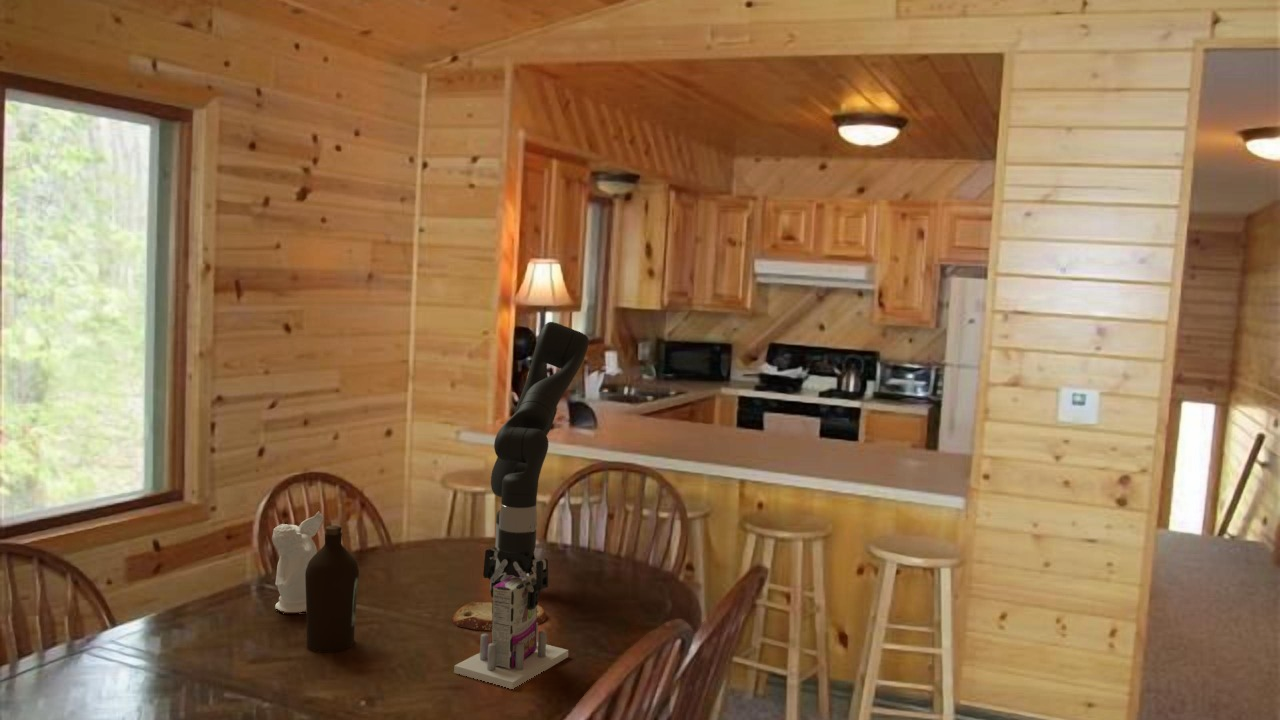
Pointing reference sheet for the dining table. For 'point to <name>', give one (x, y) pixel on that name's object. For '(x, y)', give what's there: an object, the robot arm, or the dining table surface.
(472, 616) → the bread slice
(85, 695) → the dining table surface
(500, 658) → the candy bar box
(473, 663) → the pin tray
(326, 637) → the olive oil
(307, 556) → the cherub figurine
